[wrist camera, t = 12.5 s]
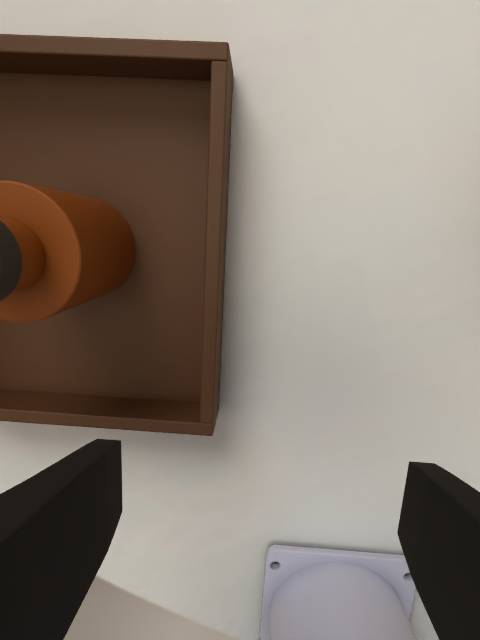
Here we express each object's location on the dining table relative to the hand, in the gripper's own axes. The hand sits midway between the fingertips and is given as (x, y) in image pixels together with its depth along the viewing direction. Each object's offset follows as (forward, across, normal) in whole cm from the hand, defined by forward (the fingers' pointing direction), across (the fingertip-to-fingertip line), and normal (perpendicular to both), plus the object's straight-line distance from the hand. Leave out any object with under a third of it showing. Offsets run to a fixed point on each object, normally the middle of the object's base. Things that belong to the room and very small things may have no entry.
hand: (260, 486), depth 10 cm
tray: (+9, +8, -5) cm, 13 cm away
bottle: (+9, +8, -5) cm, 13 cm away
